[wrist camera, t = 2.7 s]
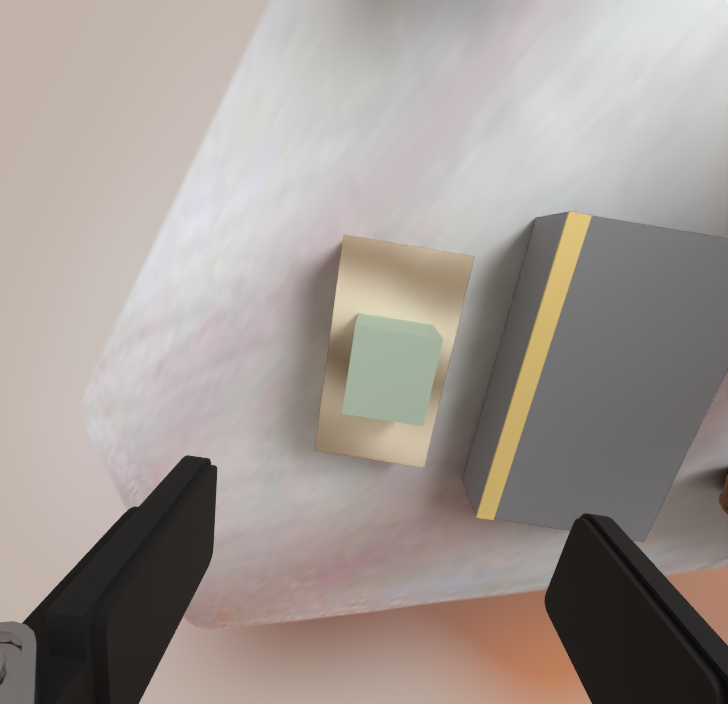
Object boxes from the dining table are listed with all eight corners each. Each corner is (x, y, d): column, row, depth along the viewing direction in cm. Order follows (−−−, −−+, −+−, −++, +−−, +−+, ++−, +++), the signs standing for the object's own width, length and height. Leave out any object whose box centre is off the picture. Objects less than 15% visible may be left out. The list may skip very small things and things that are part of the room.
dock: (535, 217, 23) (569, 211, 19) (717, 248, 23) (789, 248, 19) (462, 479, 28) (476, 517, 24) (607, 502, 29) (645, 543, 25)
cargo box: (358, 312, 21) (355, 324, 18) (432, 324, 21) (443, 338, 18) (346, 389, 23) (341, 413, 19) (416, 400, 23) (423, 426, 19)
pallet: (348, 236, 24) (343, 234, 20) (458, 254, 24) (474, 256, 20) (323, 422, 28) (314, 450, 24) (417, 437, 28) (424, 467, 24)
